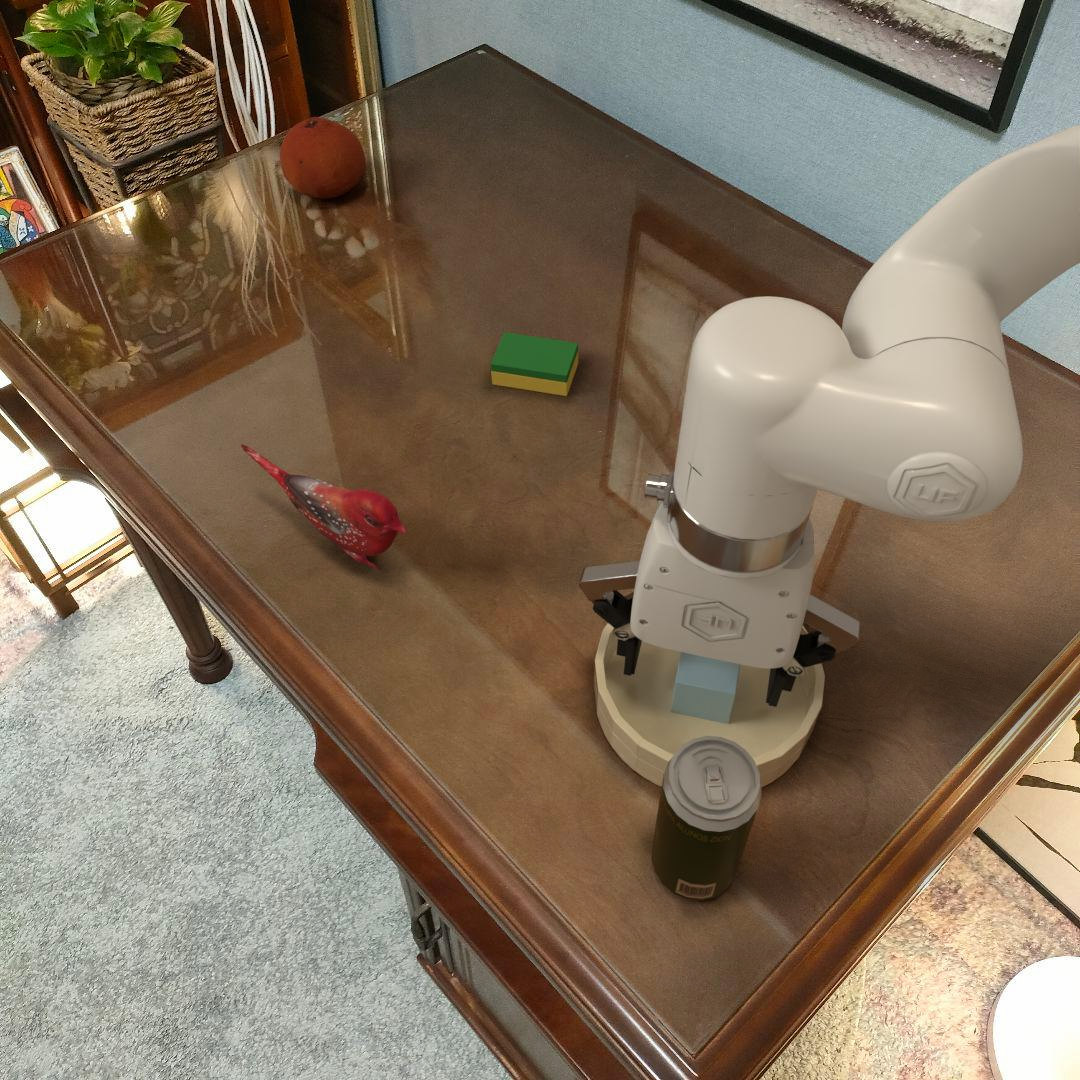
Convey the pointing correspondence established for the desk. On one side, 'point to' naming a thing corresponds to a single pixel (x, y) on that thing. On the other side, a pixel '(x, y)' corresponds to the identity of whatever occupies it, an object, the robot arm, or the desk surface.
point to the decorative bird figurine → (340, 511)
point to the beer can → (704, 816)
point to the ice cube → (705, 687)
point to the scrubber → (534, 364)
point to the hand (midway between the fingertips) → (702, 672)
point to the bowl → (657, 733)
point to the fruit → (322, 158)
